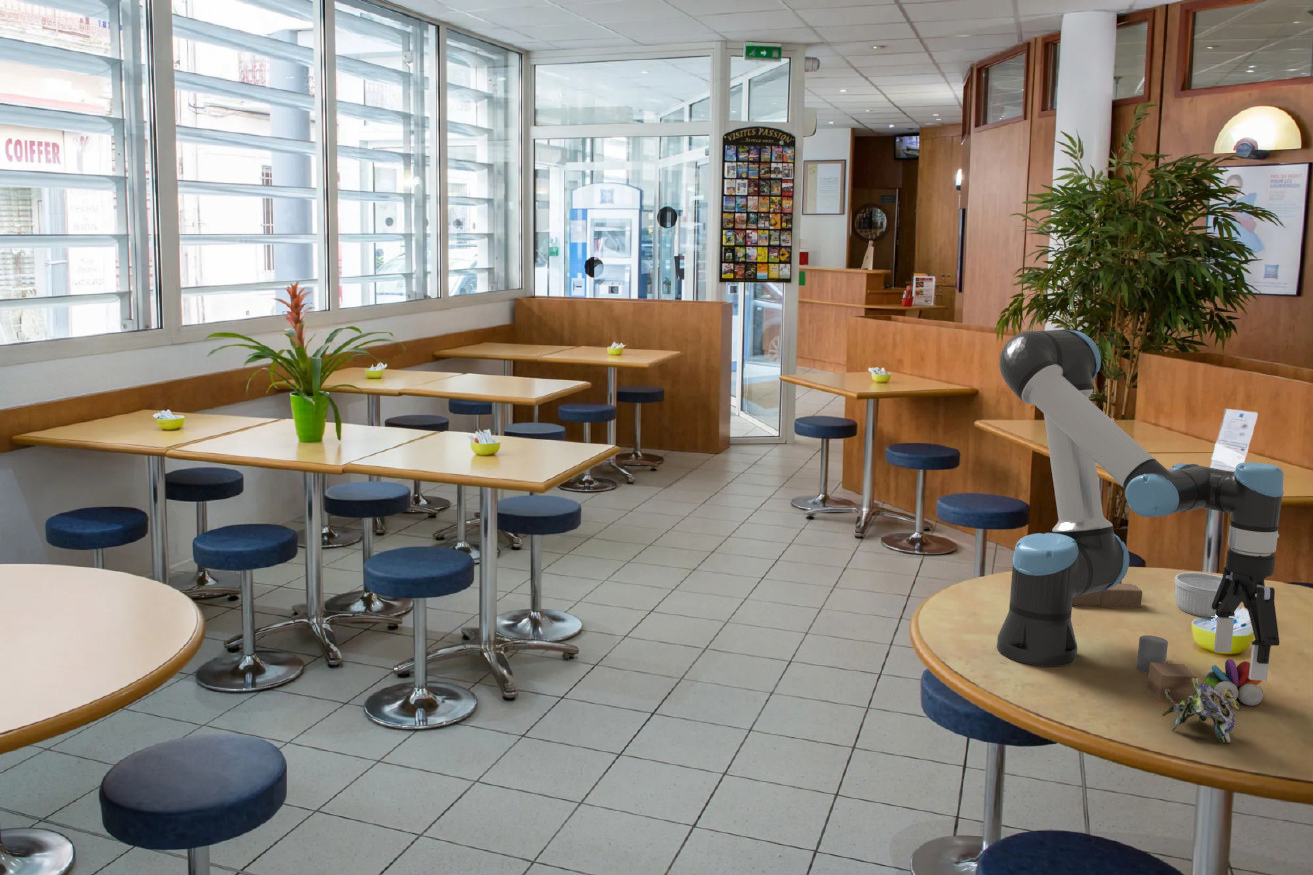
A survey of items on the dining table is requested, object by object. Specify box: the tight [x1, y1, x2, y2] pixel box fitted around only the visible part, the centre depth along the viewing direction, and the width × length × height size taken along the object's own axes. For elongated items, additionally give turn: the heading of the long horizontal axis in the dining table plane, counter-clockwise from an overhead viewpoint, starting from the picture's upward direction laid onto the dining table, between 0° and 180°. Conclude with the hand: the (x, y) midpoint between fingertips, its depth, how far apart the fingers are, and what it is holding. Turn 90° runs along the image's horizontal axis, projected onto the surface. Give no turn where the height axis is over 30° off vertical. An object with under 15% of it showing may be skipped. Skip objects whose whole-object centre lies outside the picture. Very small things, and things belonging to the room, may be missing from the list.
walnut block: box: [1146, 662, 1198, 703], centre depth 193 cm, size 6×6×5 cm
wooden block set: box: [1072, 580, 1143, 609], centre depth 250 cm, size 17×6×18 cm
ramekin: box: [1174, 572, 1223, 618], centre depth 241 cm, size 13×13×7 cm
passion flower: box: [1161, 677, 1242, 744], centre depth 178 cm, size 11×11×12 cm
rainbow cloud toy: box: [1203, 658, 1264, 707], centre depth 193 cm, size 8×10×7 cm
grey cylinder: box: [1136, 634, 1169, 675], centre depth 205 cm, size 5×5×6 cm
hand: (1239, 665), depth 192 cm, fingers open, 13 cm apart
